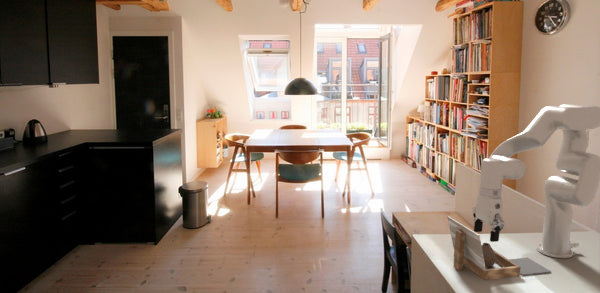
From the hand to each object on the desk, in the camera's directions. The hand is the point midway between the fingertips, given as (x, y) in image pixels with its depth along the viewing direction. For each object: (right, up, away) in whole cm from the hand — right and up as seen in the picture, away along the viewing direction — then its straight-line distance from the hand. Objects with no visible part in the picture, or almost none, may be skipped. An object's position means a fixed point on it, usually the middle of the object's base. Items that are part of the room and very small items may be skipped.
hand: (485, 236), depth 157 cm
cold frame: (-2, -12, +2) cm, 12 cm away
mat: (+15, -12, +1) cm, 19 cm away
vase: (+1, -12, +2) cm, 12 cm away
